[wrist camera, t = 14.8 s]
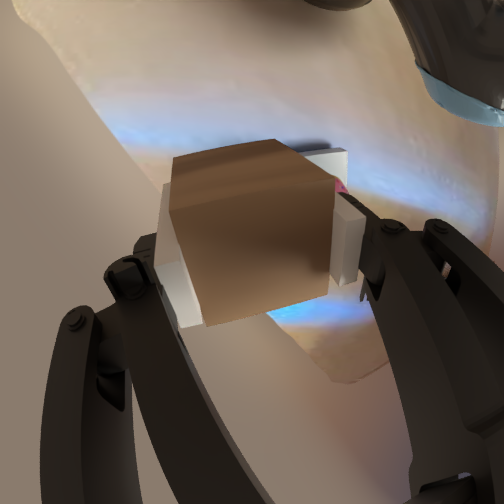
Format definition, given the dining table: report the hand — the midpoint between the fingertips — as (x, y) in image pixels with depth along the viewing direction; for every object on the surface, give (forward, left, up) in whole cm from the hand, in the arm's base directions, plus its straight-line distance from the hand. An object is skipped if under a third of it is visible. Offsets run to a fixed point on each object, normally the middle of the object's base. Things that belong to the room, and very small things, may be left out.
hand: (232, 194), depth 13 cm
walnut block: (0, 0, 0) cm, 0 cm away
